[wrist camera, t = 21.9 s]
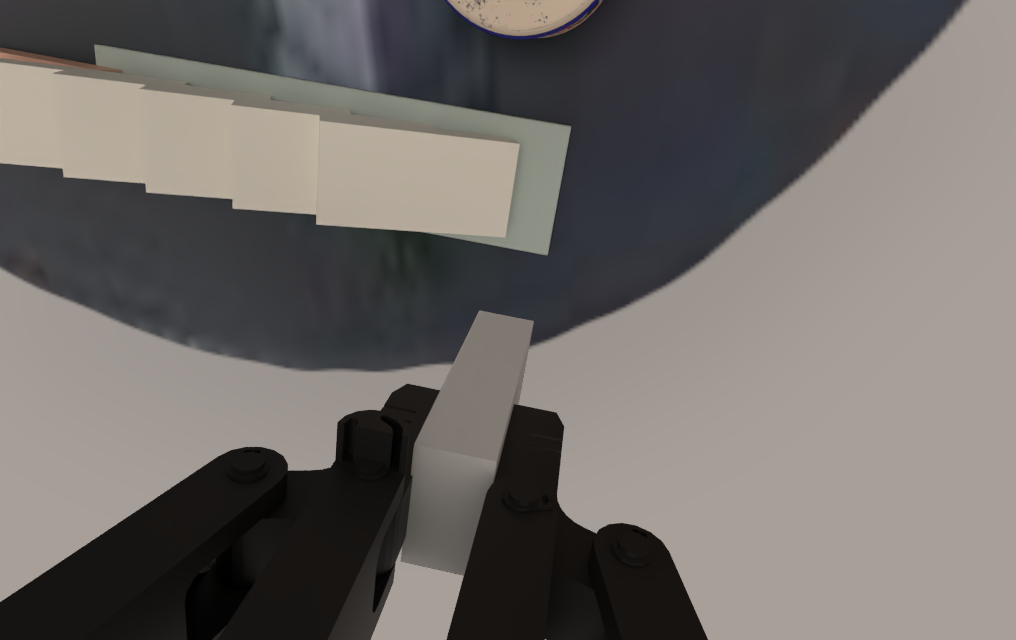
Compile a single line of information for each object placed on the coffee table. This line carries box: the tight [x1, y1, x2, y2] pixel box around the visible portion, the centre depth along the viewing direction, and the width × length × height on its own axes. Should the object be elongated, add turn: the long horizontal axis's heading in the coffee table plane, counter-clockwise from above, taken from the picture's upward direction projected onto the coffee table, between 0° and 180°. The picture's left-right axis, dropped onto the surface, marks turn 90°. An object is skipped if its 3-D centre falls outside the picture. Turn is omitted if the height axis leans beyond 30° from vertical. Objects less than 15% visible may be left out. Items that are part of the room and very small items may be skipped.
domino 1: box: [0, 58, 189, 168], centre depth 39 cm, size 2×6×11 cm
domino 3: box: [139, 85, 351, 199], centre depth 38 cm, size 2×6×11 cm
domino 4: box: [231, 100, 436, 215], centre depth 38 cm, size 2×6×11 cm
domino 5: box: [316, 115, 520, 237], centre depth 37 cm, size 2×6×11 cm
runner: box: [94, 45, 571, 255], centre depth 41 cm, size 30×8×1 cm, turn 81°
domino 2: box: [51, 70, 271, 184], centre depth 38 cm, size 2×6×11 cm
